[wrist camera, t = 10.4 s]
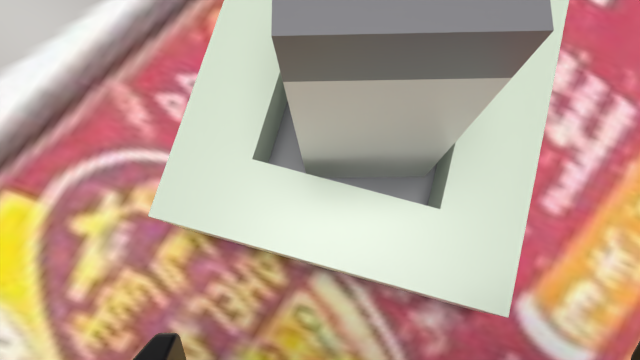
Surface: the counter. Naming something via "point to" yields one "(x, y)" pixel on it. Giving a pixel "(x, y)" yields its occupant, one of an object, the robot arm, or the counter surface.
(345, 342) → the counter surface
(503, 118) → the sage block
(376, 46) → the white plug block
